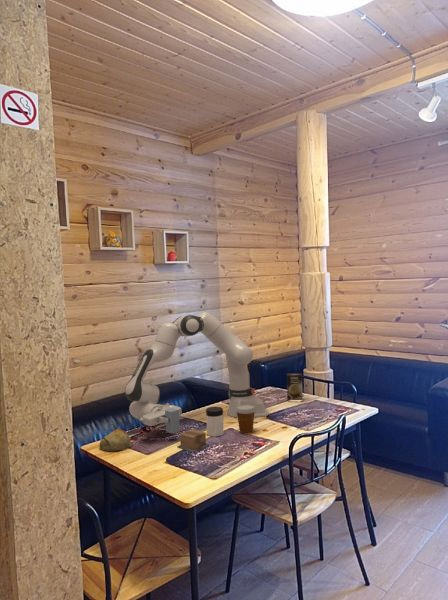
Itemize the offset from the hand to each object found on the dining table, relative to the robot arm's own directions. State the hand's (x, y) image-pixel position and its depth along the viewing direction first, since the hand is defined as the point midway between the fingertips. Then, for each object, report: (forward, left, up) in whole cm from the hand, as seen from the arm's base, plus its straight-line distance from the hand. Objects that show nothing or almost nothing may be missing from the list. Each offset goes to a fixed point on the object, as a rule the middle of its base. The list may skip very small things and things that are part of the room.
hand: (173, 418), depth 205 cm
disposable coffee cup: (-34, -8, -10) cm, 36 cm away
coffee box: (-67, -58, -10) cm, 89 cm away
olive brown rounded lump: (+26, +5, -11) cm, 28 cm away
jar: (-19, -7, -10) cm, 23 cm away
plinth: (-9, +9, -10) cm, 16 cm away
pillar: (+1, -1, -6) cm, 6 cm away
